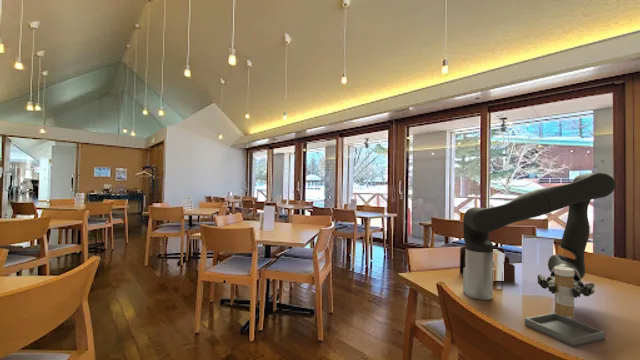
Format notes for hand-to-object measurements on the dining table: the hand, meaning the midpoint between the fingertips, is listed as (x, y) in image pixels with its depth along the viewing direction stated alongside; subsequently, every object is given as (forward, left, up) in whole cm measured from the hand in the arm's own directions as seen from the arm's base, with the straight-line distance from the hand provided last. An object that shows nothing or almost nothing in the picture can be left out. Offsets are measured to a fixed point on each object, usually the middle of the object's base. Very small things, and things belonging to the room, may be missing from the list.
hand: (564, 292), depth 84 cm
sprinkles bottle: (-1, +3, -7) cm, 8 cm away
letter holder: (-47, +24, -12) cm, 54 cm away
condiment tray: (-1, +2, -12) cm, 12 cm away
